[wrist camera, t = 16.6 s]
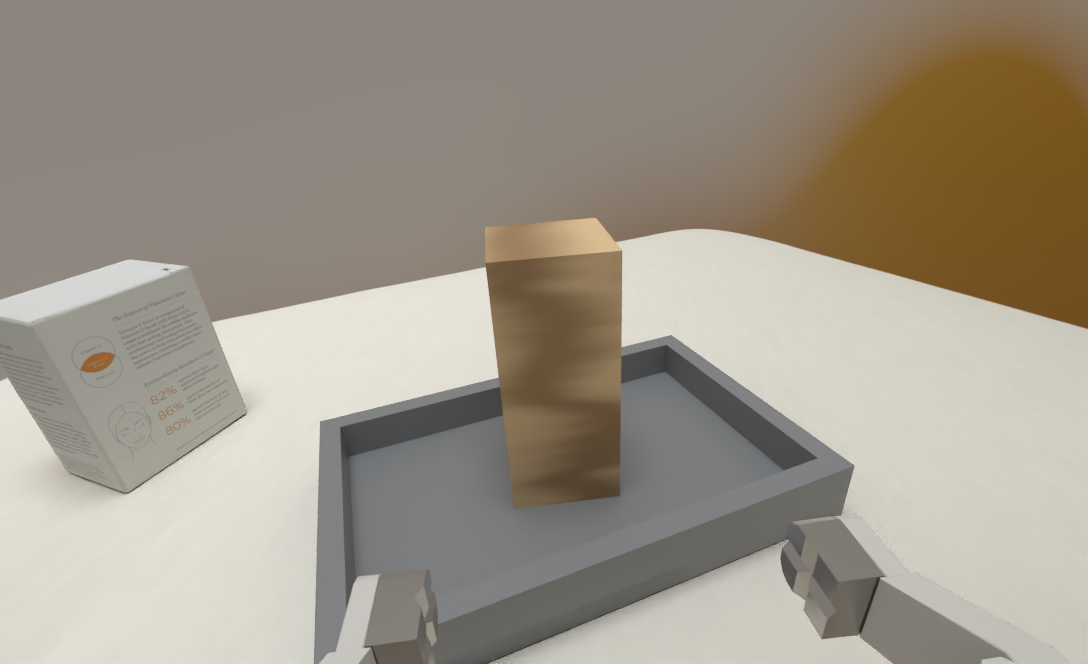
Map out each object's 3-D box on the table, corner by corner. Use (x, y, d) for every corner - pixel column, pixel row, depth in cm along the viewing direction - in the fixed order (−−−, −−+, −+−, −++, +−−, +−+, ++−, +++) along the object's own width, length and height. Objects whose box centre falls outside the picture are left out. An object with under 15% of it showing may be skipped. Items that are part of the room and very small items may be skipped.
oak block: (598, 431, 29) (595, 217, 23) (619, 496, 24) (622, 250, 19) (509, 441, 28) (485, 227, 23) (514, 509, 24) (485, 262, 18)
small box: (193, 399, 36) (131, 256, 31) (250, 413, 34) (192, 263, 29) (64, 474, 30) (-40, 308, 25) (124, 497, 28) (24, 321, 23)
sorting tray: (669, 373, 35) (671, 335, 34) (840, 516, 23) (854, 465, 22) (333, 465, 29) (320, 421, 27) (337, 725, 17) (313, 671, 16)
